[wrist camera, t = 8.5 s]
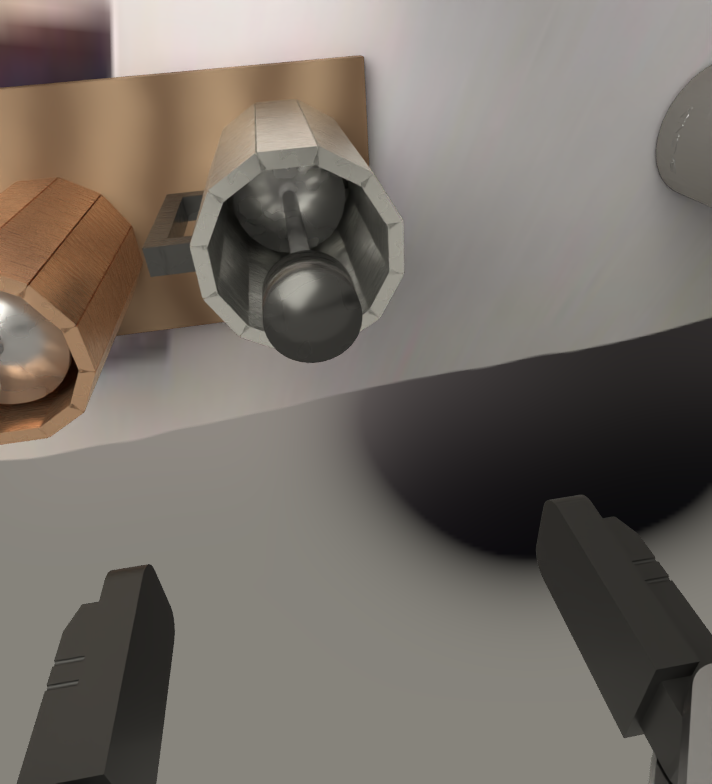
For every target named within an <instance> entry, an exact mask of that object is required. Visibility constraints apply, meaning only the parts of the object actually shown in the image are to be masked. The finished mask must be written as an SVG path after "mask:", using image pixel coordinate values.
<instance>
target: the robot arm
mask: <svg viewBox="0 0 712 784" xmlns="http://www.w3.org/2000/svg"><path fill="white" fill-rule="evenodd" d="M656 158H657V166H658V169H659V173H660V175H661V177H662V179H663V180H664V182H665V183H666V185H668V186H669V187H670V188H671V189H672V190H674V191H676V192H678V193H680V194H682V195H685V196H687V197H689V198H691V199H694V200H696V201H698V202H700V203H703V204H705V205H707V206H709V207H711V208H712V65H711V66H709V67H707V68H705V69H704V70H703V71H702V72H700V73H699V74H698V75H697V76H695V77H694V78H693V79H692V80H691V81H690V82H689V83H688V84H687V85H686V86H685V87H684V88H683V90H682V91H681V92H680V93H679V95H678V96H677V97H676V99H675V100H674V102H673V103H672V105H671V106H670V108H669V110H668V112H667V114H666V116H665V118H664V120H663V123H662V126H661V129H660V132H659V135H658V141H657V148H656ZM536 556H537V562H538V566H539V569H540V572H541V575H542V577H543V579H544V581H545V583H546V585H547V587H548V589H549V591H550V593H551V595H552V597H553V599H554V601H555V603H556V605H557V607H558V609H559V611H560V613H561V615H562V617H563V619H564V621H565V623H566V625H567V627H568V629H569V631H570V633H571V635H572V636H573V639H574V640H575V642H576V644H577V646H578V648H579V650H580V652H581V654H582V656H583V658H584V660H585V662H586V664H587V666H588V668H589V670H590V672H591V674H592V676H593V678H594V680H595V682H596V684H597V686H598V688H599V690H600V692H601V694H602V696H603V698H604V700H605V702H606V704H607V706H608V708H609V710H610V711H611V713H612V716H613V718H614V719H615V721H616V723H617V725H618V727H619V729H620V731H621V733H622V735H623V737H624V738H627V737H632V736H637V735H642V734H645V736H646V738H647V740H648V742H649V744H650V745H651V747H652V749H653V753H652V757H651V765H650V774H649V783H648V784H712V635H711V633H710V632H709V630H708V629H707V628H706V626H705V625H704V624H703V622H702V621H701V619H700V618H699V617H698V615H697V614H696V613H695V611H694V610H693V608H692V607H691V606H690V604H689V603H688V602H687V600H686V599H685V597H684V596H683V595H682V593H681V592H680V591H679V589H678V588H677V587H676V585H675V584H674V583H673V581H670V580H669V578H668V574H667V573H666V571H665V570H664V569H663V567H662V566H661V565H660V563H659V562H656V560H655V556H654V555H653V554H652V552H651V551H650V550H649V548H648V547H647V545H646V544H645V543H644V541H643V540H642V539H641V537H640V536H639V534H637V533H636V532H635V531H633V530H632V529H630V528H629V527H628V526H627V525H625V524H624V523H623V522H621V521H620V520H619V519H617V518H616V517H609V518H603V519H602V517H601V516H600V514H599V513H598V511H597V510H596V508H595V507H594V505H593V504H592V503H591V501H590V500H589V499H588V498H587V497H586V496H584V495H578V496H571V497H565V498H559V499H553V500H548V501H546V502H545V504H544V508H543V513H542V519H541V524H540V529H539V535H538V540H537V546H536ZM174 635H175V629H174V617H173V612H172V609H171V606H170V604H169V602H168V600H167V597H166V595H165V593H164V590H163V588H162V586H161V584H160V581H159V579H158V577H157V574H156V572H155V570H154V568H153V566H152V565H150V564H148V565H141V566H135V567H129V568H123V569H118V570H112V571H110V572H108V574H107V576H106V578H105V581H104V585H103V589H102V593H101V597H100V600H99V602H94V603H88V604H83V605H81V607H80V608H79V610H78V611H77V613H76V614H75V616H74V617H73V618H72V620H71V621H70V623H69V624H68V626H67V627H66V628H65V630H64V632H63V634H62V638H61V641H60V644H59V647H58V650H57V654H56V657H55V660H54V661H55V665H54V667H52V670H51V673H50V677H49V680H48V683H47V691H45V693H44V696H43V699H42V703H41V706H40V709H39V712H38V716H37V719H36V722H35V725H34V729H33V732H32V735H31V738H30V742H29V745H28V748H27V752H26V755H25V758H24V761H23V765H22V768H21V771H20V774H19V778H18V781H17V784H156V781H157V773H158V764H159V758H160V749H161V741H162V734H163V726H164V718H165V710H166V701H167V694H168V686H169V678H170V670H171V662H172V653H173V645H174Z"/></svg>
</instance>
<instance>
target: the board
mask: <svg viewBox="0 0 712 784" xmlns="http://www.w3.org/2000/svg"><path fill="white" fill-rule="evenodd" d="M288 99H296V100H297V99H298V100H300V101H301V102H303V103H305V104H307V105H309V106H311V107H313V108H315V109H317V110H319V111H321V112H323V113H325V114H327V115H329V116H331V117H333V119H334V120H335V121H336V122H337V124H338V125H339V126H340V128H341V129H342V131H343V132H344V133H345V135H346V136H347V137H348V139H349V140H350V142H351V143H352V144H353V146H354V147H355V148H356V150H357V151H358V153H359V154H360V155H361V157H362V158H363V159H364V161H365V162H366V164H367V165H368V166H369V153H368V133H367V113H366V93H365V73H364V57H363V56H361V55H359V56H348V57H337V58H326V59H315V60H304V61H293V62H282V63H271V64H260V65H249V66H238V67H227V68H215V69H204V70H193V71H182V72H171V73H160V74H149V75H138V76H127V77H116V78H105V79H94V80H83V81H72V82H61V83H50V84H39V85H28V86H17V87H5V88H0V193H2V192H3V191H4V190H6V189H7V188H8V187H10V186H11V185H12V184H14V183H15V182H17V181H26V180H35V179H45V178H55V177H58V178H59V177H60V178H62V179H65V180H67V181H70V182H72V183H75V184H77V185H80V186H83V187H85V188H88V189H90V190H93V191H95V192H98V193H100V194H101V195H103V196H104V197H105V198H106V199H107V200H108V201H109V202H110V203H111V204H112V205H113V206H114V207H115V208H116V209H117V211H118V212H119V213H120V214H121V215H122V216H123V217H124V218H125V219H126V220H127V221H128V222H129V223H130V224H131V226H132V227H133V230H134V234H135V237H136V240H137V244H138V247H139V250H140V253H141V257H142V260H143V264H142V267H141V270H140V274H139V277H138V281H137V284H136V287H135V291H134V294H133V296H132V299H131V301H130V303H129V306H128V308H127V311H126V313H125V315H124V318H123V320H122V323H121V325H120V327H119V330H118V332H117V335H116V336H119V335H127V334H134V333H142V332H150V331H157V330H165V329H173V328H181V327H188V326H196V325H204V324H211V323H219V322H224V321H223V320H222V319H221V318H220V317H219V316H218V314H217V313H216V312H215V311H214V310H213V309H212V308H211V307H210V306H209V305H208V304H207V303H206V302H205V301H204V300H203V299H204V298H202V294H201V290H200V286H199V282H198V278H197V274H196V272H188V273H180V274H172V275H164V276H155V277H151V276H150V273H149V270H148V267H147V263H146V260H145V257H144V253H143V250H142V248H143V245H144V243H145V241H146V239H147V237H148V234H149V232H150V230H151V228H152V226H153V224H154V221H155V219H156V217H157V215H158V213H159V210H160V208H161V206H162V204H163V202H164V199H165V197H166V195H167V194H174V193H184V192H193V191H202V190H204V189H205V185H206V182H207V178H208V174H209V170H210V167H211V164H212V161H213V157H214V154H215V151H216V148H217V145H218V142H219V139H220V136H221V133H222V130H223V128H225V127H226V126H227V125H228V124H229V123H231V122H232V121H233V120H234V119H236V118H237V117H238V116H239V115H240V114H242V113H243V112H244V111H245V110H247V109H248V108H249V107H250V106H251V105H253V104H255V105H256V103H257V102H267V101H278V100H288ZM101 195H100V196H101ZM195 223H196V220H195V221H188V224H187V227H186V230H185V234H184V236H192V235H193V231H194V227H195Z"/></svg>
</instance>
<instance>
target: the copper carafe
mask: <svg viewBox="0 0 712 784" xmlns="http://www.w3.org/2000/svg"><path fill="white" fill-rule="evenodd" d="M100 195H101V194H100V193H98V192H95V191H93V190H90V189H88V188H85V187H83V186H80V185H77V184H75V183H72V182H70V181H67V180H65V179H62V178H60V177H59V178H58V177H55V178H45V179H35V180H26V181H17V182H15V183H14V184H12V185H11V186H10V187H8V188H7V189H6V190H4V191H3V192H2V193H0V291H3V292H6V293H9V294H12V295H15V296H19V297H21V298H22V299H24V300H25V301H26V302H27V303H28V304H30V305H31V306H32V307H33V308H34V309H36V310H37V311H38V312H39V313H40V314H42V315H43V316H44V317H45V318H47V319H48V320H49V321H50V322H51V323H53V324H54V325H55V326H56V327H57V328H59V329H60V330H61V331H62V332H63V335H64V337H65V339H66V342H67V344H68V346H69V349H70V351H71V353H72V360H71V364H70V367H69V369H68V371H67V373H66V375H65V377H64V379H63V381H62V382H61V383H60V384H59V386H58V387H57V388H56V389H55V390H53V391H52V392H51V393H49V394H48V395H46V396H44V397H42V398H40V399H37V400H34V401H31V402H26V403H19V404H0V445H2V444H9V443H16V442H23V441H30V440H37V439H44V438H48V437H51V436H52V435H54V434H55V433H56V432H58V431H59V430H60V429H62V428H63V427H65V426H66V425H67V424H69V423H70V422H71V421H73V420H74V419H76V418H77V417H78V416H80V415H81V414H82V413H84V411H85V409H86V407H87V404H88V402H89V400H90V397H91V395H92V392H93V390H94V388H95V385H96V383H97V380H98V378H99V376H100V373H101V371H102V368H103V366H104V364H105V361H106V359H107V356H108V354H109V352H110V349H111V347H112V344H113V342H114V339H115V337H116V335H117V332H118V330H119V327H120V325H121V323H122V320H123V318H124V315H125V313H126V311H127V308H128V306H129V303H130V301H131V299H132V296H133V294H134V291H135V287H136V284H137V281H138V277H139V274H140V270H141V267H142V264H143V260H142V257H141V253H140V250H139V247H138V244H137V240H136V237H135V234H134V230H133V227H132V226H131V224H130V223H129V222H128V221H127V220H126V219H125V218H124V217H123V216H122V215H121V214H120V213H119V212H118V211H117V209H116V208H115V207H114V206H113V205H112V204H111V203H110V202H109V201H108V200H107V199H106V198H105V197H104V196H103V195H101V196H100Z"/></svg>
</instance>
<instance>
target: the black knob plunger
mask: <svg viewBox="0 0 712 784" xmlns="http://www.w3.org/2000/svg"><path fill="white" fill-rule="evenodd" d="M71 360H72V353H71V351H70V349H69V346H68V344H67V342H66V339H65V337H64V335H63V332H62V331H61V330H60V329H59V328H57V327H56V326H55V325H54V324H53V323H51V322H50V321H49V320H48V319H47V318H45V317H44V316H43V315H42V314H40V313H39V312H38V311H37V310H36V309H34V308H33V307H32V306H31V305H30V304H28V303H27V302H26V301H25V300H24V299H22V298H21V297H19V296H15V295H12V294H9V293H6V292H3V291H0V404H19V403H26V402H31V401H34V400H37V399H40V398H42V397H44V396H46V395H48V394H49V393H51V392H52V391H53V390H55V389H56V388H57V387H58V386H59V384H60V383H61V382H62V381H63V379H64V377H65V375H66V373H67V371H68V369H69V367H70V364H71Z"/></svg>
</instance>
